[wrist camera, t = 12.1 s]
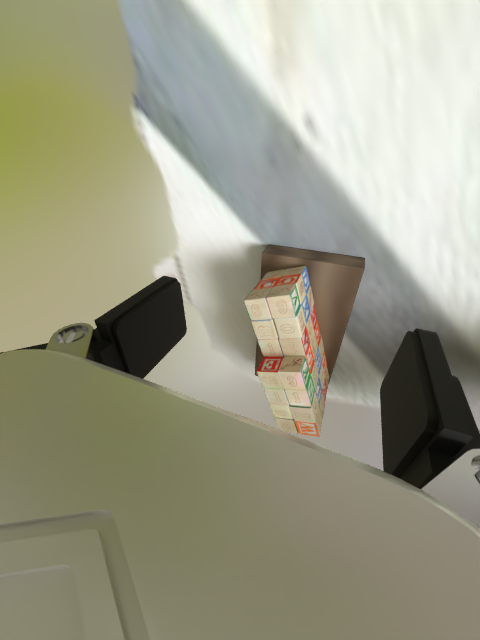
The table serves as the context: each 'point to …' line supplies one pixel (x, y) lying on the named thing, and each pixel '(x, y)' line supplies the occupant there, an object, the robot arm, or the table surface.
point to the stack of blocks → (290, 350)
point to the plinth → (321, 290)
